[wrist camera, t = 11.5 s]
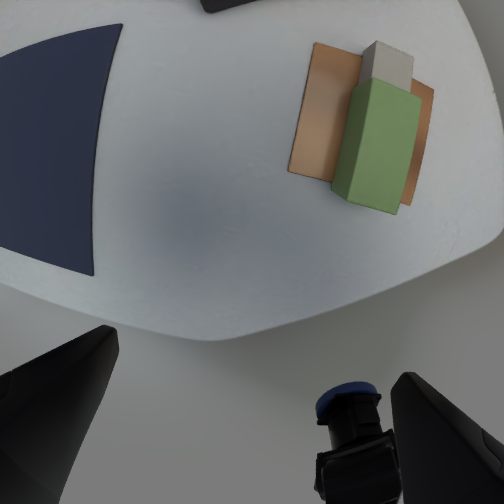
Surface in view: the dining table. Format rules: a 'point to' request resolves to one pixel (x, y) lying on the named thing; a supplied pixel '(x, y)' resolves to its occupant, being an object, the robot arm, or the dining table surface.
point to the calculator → (220, 4)
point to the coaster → (342, 117)
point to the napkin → (52, 144)
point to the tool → (379, 131)
